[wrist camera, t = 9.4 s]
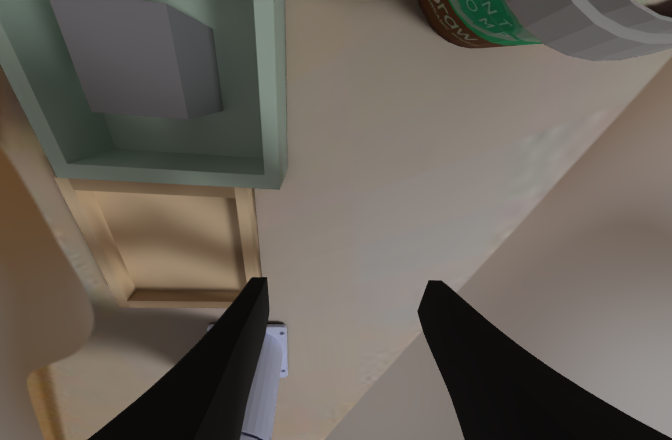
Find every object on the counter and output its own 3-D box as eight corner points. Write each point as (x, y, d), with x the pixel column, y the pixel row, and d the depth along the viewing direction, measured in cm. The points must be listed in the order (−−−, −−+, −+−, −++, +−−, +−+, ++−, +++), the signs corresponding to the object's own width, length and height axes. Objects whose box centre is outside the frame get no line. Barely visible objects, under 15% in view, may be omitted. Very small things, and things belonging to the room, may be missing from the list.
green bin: (287, 168, 17) (279, 189, 14) (113, 157, 16) (57, 177, 13) (283, -63, 12) (269, -127, 8) (17, -104, 11) (-132, -198, 7)
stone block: (223, 110, 15) (188, 119, 11) (153, 105, 14) (91, 112, 10) (212, 28, 13) (165, 3, 9) (132, 19, 12) (44, -13, 8)
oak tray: (263, 293, 23) (259, 308, 21) (134, 291, 22) (119, 307, 20) (253, 178, 17) (246, 187, 16) (78, 168, 16) (53, 177, 15)
